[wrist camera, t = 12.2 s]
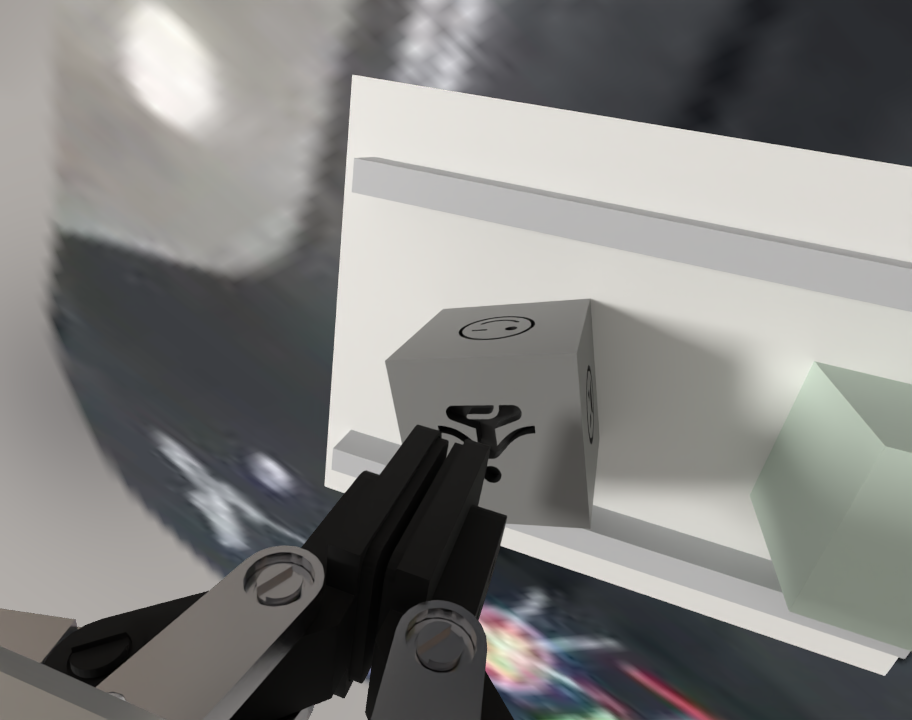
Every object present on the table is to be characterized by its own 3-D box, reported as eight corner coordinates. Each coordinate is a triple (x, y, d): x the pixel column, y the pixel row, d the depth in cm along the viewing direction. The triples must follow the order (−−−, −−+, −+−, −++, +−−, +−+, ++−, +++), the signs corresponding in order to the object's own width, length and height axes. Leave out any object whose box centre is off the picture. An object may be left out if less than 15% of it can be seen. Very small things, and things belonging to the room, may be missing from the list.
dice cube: (590, 298, 17) (576, 353, 13) (599, 437, 19) (590, 528, 14) (442, 308, 19) (384, 360, 14) (463, 436, 20) (417, 517, 16)
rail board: (1183, 213, 13) (1558, 262, 8) (873, 651, 20) (962, 839, 15) (366, 78, 18) (252, 50, 12) (335, 473, 24) (253, 566, 19)
